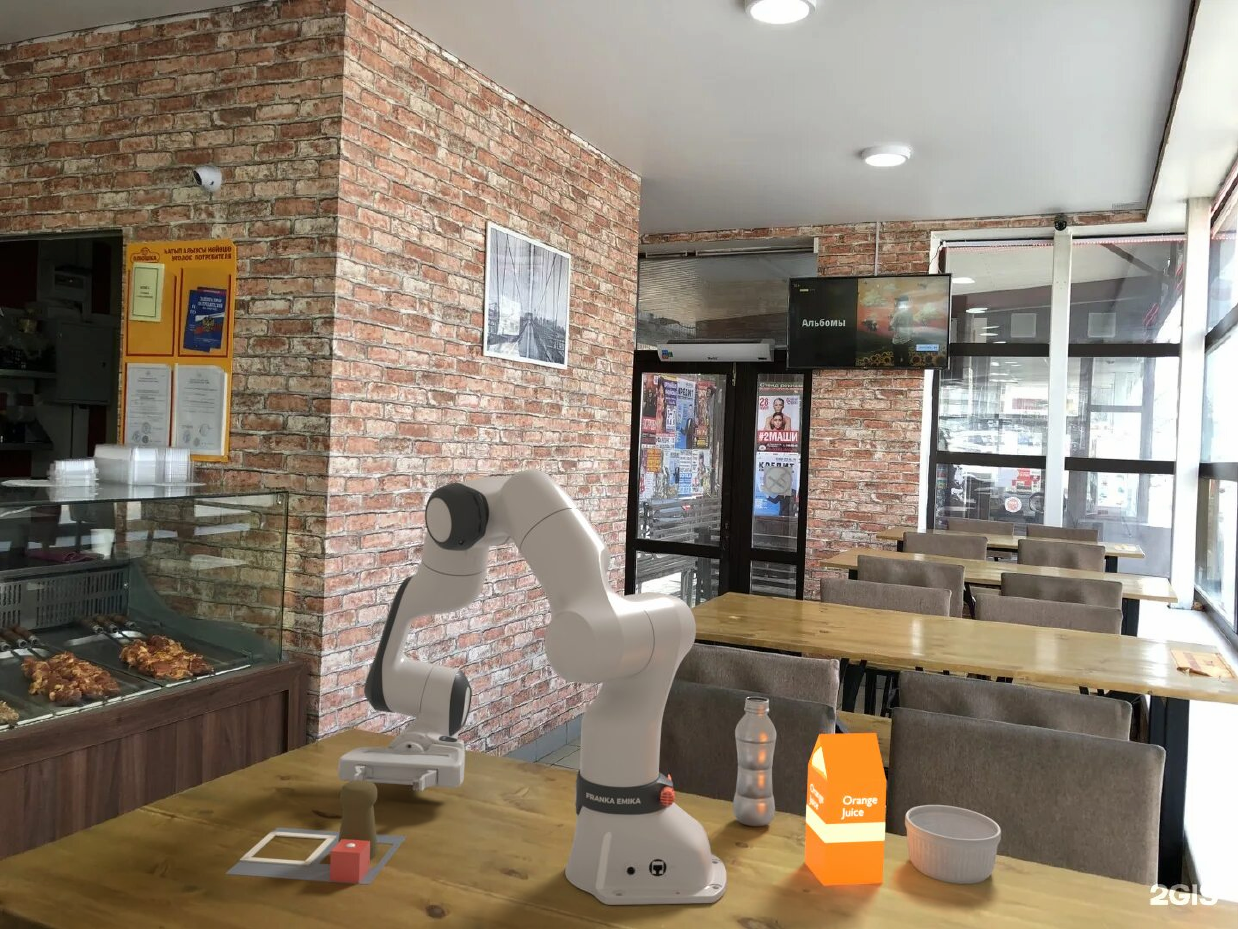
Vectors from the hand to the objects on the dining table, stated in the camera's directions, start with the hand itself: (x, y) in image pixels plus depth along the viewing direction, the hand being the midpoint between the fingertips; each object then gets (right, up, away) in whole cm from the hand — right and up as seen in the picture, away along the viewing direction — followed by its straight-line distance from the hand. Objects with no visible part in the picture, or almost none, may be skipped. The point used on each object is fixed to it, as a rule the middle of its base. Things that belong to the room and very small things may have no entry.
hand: (387, 784), depth 152 cm
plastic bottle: (+57, -8, +5) cm, 58 cm away
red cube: (-1, -6, -19) cm, 20 cm away
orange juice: (+68, -9, -12) cm, 69 cm away
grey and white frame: (-7, -7, -13) cm, 16 cm away
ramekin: (+84, -10, -9) cm, 85 cm away
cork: (-1, -7, -12) cm, 14 cm away
